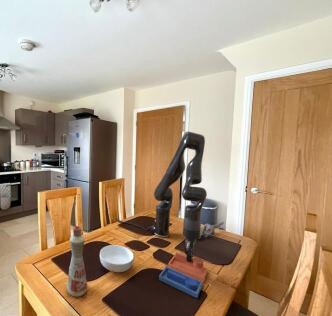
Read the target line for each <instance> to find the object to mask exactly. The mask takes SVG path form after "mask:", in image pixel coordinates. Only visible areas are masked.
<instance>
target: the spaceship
mask: <svg viewBox="0 0 332 316" xmlns="http://www.w3.org/2000/svg"><path fill="white" fill-rule="evenodd" d="M224 224H225V222H224V221H221V222H219V223H216V224H213V225H211V224H210V223H205V224H204V225H203V227H202V226H201V229H200V238H199V239H198V240H200V239H201V238H202V237H204V238H207V237H208V236H213V235H215V233H216V231H215V230H216V229H217V228H220V227H221V226H223V225H224Z"/></svg>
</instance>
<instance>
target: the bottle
mask: <svg viewBox="0 0 332 316" xmlns="http://www.w3.org/2000/svg"><path fill="white" fill-rule="evenodd" d="M72 232H73V234H72V235H71V236H70V237H69V244H70V251H71V258H70V264H69V268H68V274H67V275H68V276H67V281H66V291H67V293H68V294H69V295H70V296H71V297H74V298H75V297H76V298H77V297H81V296H83V295H85V294H86V292H87V291H88V280H87V273H86V268H85V262H84V261H85V260H84V257H83V253H84V246H85V241H86V240H85V237H84V236H83V235H82V227H81V226H80V225H75V226H73V228H72Z"/></svg>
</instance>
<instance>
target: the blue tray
mask: <svg viewBox="0 0 332 316" xmlns="http://www.w3.org/2000/svg"><path fill="white" fill-rule="evenodd" d="M168 270H170V271H173V272H175V273H177V274H180V275H182V276H184V277H186V278H191V279H194V278H192V277H190V276H187V275H185V274H183V273H180V272H178V271H176V270H173V269H171V268H169V267H168V266H164V268H163V270H162V271H161V272H160V274H159V275H158V281H161V282H163V283H165V284H167V285H168V286H171V287H172V288H175V289H176V290H179V291H180V292H183V293H184V294H187V295H189V296H192V297H194V298H195V299H198V298H199V295H200V293H201V290H202V287H203V282H201V281H199V280H197V279H194V280H195V281H196V282H197V289H196V290H195V291H192V290H190V289H188V288H186V286H185V285H183V284H181V283H179V282H177V281H174V280H172V279H170V278H168V277H167V271H168Z"/></svg>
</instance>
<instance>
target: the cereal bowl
mask: <svg viewBox="0 0 332 316" xmlns="http://www.w3.org/2000/svg"><path fill="white" fill-rule="evenodd" d="M134 257H135V256H134V253H133V252H132V250H130V249H129V248H127V247H125V246H123V245H117V244H110V245H105V246H104V247H102V248H101V249H100V250H99V261H100V263H101V265H102V267H104V268H105V269H106V270H107V271H110V272H112V273H124V272H126V271H128V270H129V269H130V268H131V267H132V266H133V263H134Z"/></svg>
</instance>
